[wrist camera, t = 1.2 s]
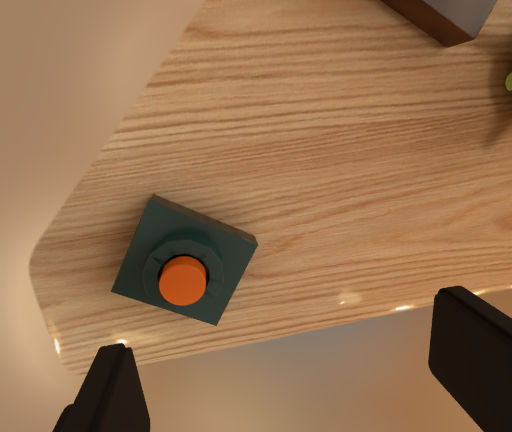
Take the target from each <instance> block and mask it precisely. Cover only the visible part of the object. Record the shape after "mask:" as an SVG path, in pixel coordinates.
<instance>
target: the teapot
mask: <svg viewBox="0 0 512 432" xmlns="http://www.w3.org/2000/svg"><path fill="white" fill-rule="evenodd" d="M505 85H506V88H507V89H508V90H509V91H512V72H511V73H510V74H509V75H508V76H507V78H506V82H505Z"/></svg>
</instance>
